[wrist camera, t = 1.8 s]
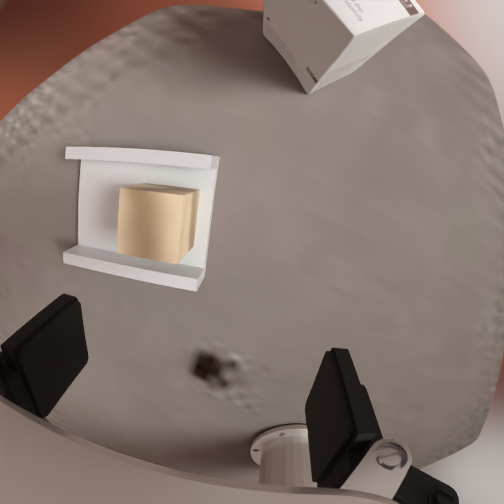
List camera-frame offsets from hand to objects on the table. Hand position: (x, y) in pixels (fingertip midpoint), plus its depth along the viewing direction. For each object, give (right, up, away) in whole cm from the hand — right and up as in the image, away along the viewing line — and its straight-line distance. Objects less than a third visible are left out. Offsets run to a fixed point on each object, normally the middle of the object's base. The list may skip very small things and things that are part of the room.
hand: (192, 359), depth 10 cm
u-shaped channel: (-9, +8, +19) cm, 22 cm away
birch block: (-6, +7, +18) cm, 20 cm away
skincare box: (+8, +23, +13) cm, 28 cm away
